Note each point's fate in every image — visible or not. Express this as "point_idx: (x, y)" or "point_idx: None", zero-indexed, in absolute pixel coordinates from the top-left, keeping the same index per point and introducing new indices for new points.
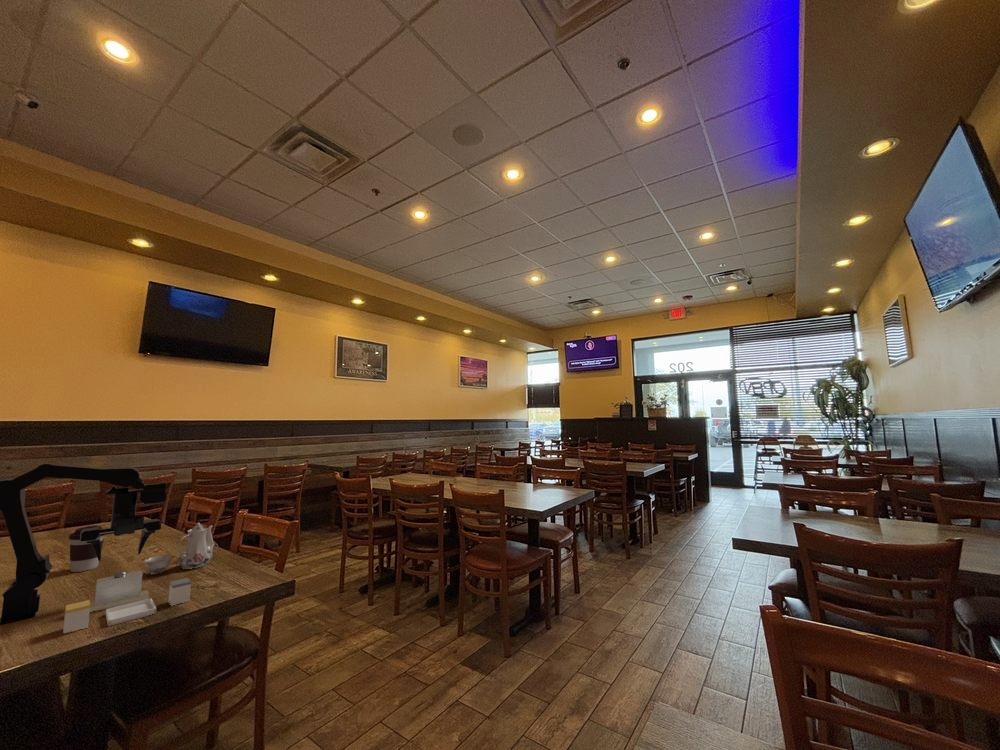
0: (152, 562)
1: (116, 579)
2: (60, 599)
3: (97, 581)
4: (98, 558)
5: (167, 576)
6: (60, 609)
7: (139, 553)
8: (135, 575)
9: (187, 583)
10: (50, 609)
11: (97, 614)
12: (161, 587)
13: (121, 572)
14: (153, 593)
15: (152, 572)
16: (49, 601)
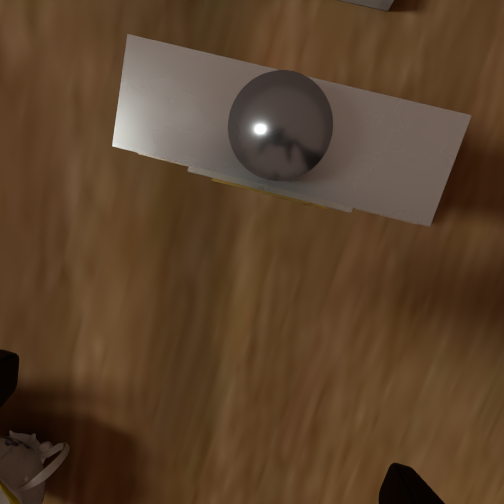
0: (1, 483)
1: (326, 84)
2: None
3: (456, 154)
4: (435, 499)
5: None
6: (459, 337)
7: (3, 352)
8: (185, 49)
9: None
10: (480, 380)
11: (405, 64)
12: (70, 207)
13: (271, 128)
14: None
15: (41, 448)
16: None
